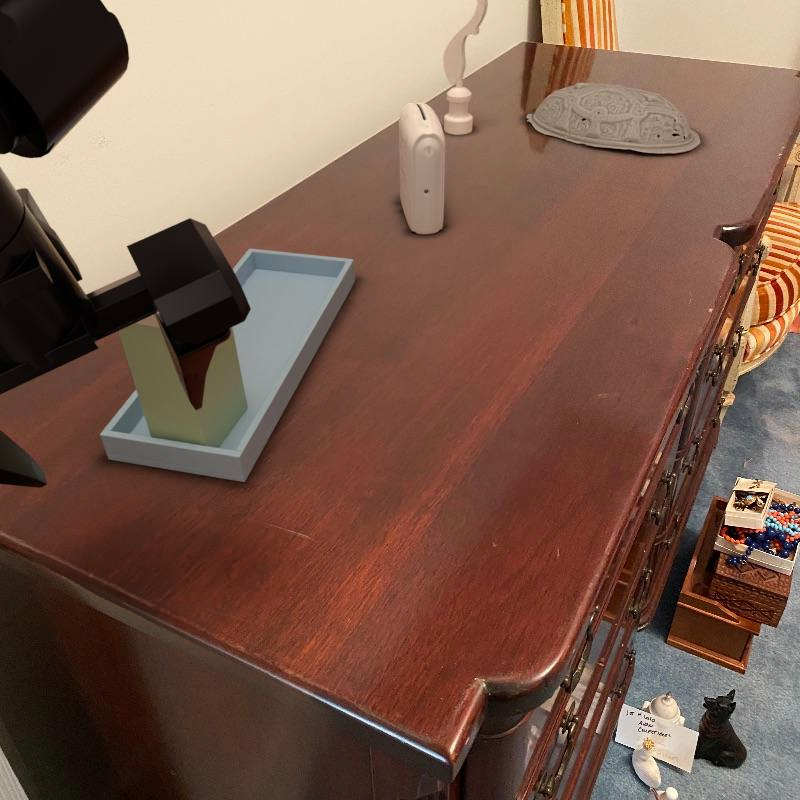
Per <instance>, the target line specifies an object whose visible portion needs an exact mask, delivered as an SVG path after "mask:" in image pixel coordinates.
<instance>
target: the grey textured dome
mask: <svg viewBox="0 0 800 800" xmlns="http://www.w3.org/2000/svg"><path fill="white" fill-rule="evenodd" d="M525 118H526V119H527V123H528V122H529V123H530V124H531V125H532V127H533V128H534V129H535V131H537V132H539V133H541V134H543V135H546V136H550V137H555V138H559V139H562V140H565V141H568V142H571V143H574V144H578V145H585V146H589V147H595V148H602V149H603V148H604V149H606V148H607V149H615V150H631V151H636V152H639V153H640V152H641V153H644V154H645V153H646V154H660V155H662V154H663V155H664V154H680V153H685V152H689V151H692V150H694V149H695V148H697V147H698V146H700V144H701V139H700V136H699V134H698V133H696V132H695V130H693V129H691V127H690V125H689V124H688V122H687V118H686V116H685V115H684V114H683V113H682V111H680V110H679V109H678V108H677V106H676V105H674V104H673V103H671V102H670V101H669V100H667V99H666V98H664V97H663V96H661V95H660V94H659V93H657V92H650V91H647V90H643V89H640V88H636V87H628V86H623V85H621V84H610V83H599V82H598V83H597V82H596V83H592V82H590V83H586V82H577V83H575V84H574V85H571V86H567V87H563V88H561V89H556V90H554V91H553V92H552V93H550V94H549V95H548V96H547V97H545V98H544V99H543V101H542V102H541V103H540V104H539V106H538V107H536V109H535V112H534V113H528V114H527V115H526V116H525ZM583 119H585V120H583ZM673 134H676V135H675V136H674V135H673Z"/></svg>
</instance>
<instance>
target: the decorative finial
mask: <svg viewBox="0 0 800 800" xmlns="http://www.w3.org/2000/svg"><path fill="white" fill-rule="evenodd" d="M476 1H477V2H476V7H475V10H474V13H473V15H472V17H471V18H470V19H469V21H468V22H467V23H466V24H465V25H464V26H463V27H462V28H461V29H459V31H458V32H457V33H456V34H455V35H454V36H453V37H452V38H451V40H449V42H448V43H447V46H446V48H445V50H444V52H443V56H442V58H443V59H442V61H443V70H444V74H445V76H446V79H447V81H448V83H449V84H450V86H451V88H450V89H449V90H448V91H447V92H446V100H447V101H448V102H449V105H448V112H446V113H445V115H444V117H443V132H445V133H446V134H449V135H455V136H460V135H467V134H470V133H471V132H472V131H473V127H474V126H473V125H474V124H473V122H474V117H473V115H472V114H471V113H470V112H469V102H471V101H472V91H470V90H469V88H468V87H465V86H464V74H465V71H466V65H467V64H466V63H467V61H466V41H467V38H468V37H469V35H473V36H477V35H478V34H479V33H480V27H481V25H482V23H483V21H484V19H485V17H486V14H487V11H488V7H489V6H488V4H489V0H476ZM454 85H455V86H454ZM452 86H453V87H452Z"/></svg>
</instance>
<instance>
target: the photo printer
mask: <svg viewBox="0 0 800 800" xmlns="http://www.w3.org/2000/svg"><path fill="white" fill-rule="evenodd" d="M398 139H399V140H398V142H399V143H398V144H399V145H398V146H399V147H398V149H399V151H398V152H399V153H398V154H399V195H400V196H399V198H400V205H401V207H402V211H403V214H404V217H405V220H406V224H407V226H408V228H409V230H410V231H411V232H414V233H415V234H418V235H433V234H436V233H438V232H439V231H440V230H442V229H443V227H444V219H445V218H444V217H445V187H446V186H445V185H446V182H445V180H446V137H445V133H444V129H443V127H442V124H441V122H440V119H439V117H438V115H437V113H436V112H435V111H434V109H433V108H432V107H431V106H430V105H428V104H427V103H426V102H423V101H419V102H409V103H407V104H406V105H405V106H404V107H403V108H402V109H401V111H400V114H399V117H398Z"/></svg>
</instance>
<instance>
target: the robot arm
mask: <svg viewBox="0 0 800 800" xmlns="http://www.w3.org/2000/svg"><path fill="white" fill-rule="evenodd" d="M129 62H130V52H129V44H128V40H127V37H126V35H125V32H124V29H123V27H122V25H121V23H120V21H119V19H118V17H117V16H116V14H114V13H113V12H111V11H110V10H108V8H107V7H106V6H105V4H104V3H103V1H102V0H0V155H7V154H9V153H10V154H12V155H15V156H18V157H21V158H27V159H38V158H43V157H45V156H47V155H49V154H50V153H51V152H52V151H53V150H54V149H55V148H56V147H57V146H58V144H59V143H60V142H62V140H63V139H64V138H65V137H66V136H68V134H69V133H70V132H71V131H72V130H73V129H74V128H75V127H76V126H77V125H78V124H79V123H80V122H81V120H82V119H83V118H85V116H87V114H88V113H89V112H90V111H91V110H92V109H93V108H95V106H97V104H98V103H100V102H99V101H101V99H103V97H105V95H107V93H109V91H111V90H112V88H114V86H115V85H116V84H117V83H118V82H119V81H120V80H121V79H122V78H123V76H124V75H125V73H126V72H127V70H128V66H129ZM4 171H5V170H3V168H2V167H1V166H0V395H3V394H4V393H7V392H9V391H11V390H14V389H15V388H17V387H19V386H22V385H24V384H26V383H28V382H31V381H33V380H34V379H37V378H39V377H41V376H43V375H45V374H47V373H49V372H52V371H54V370H56V369H58V368H60V367H62V366H64V365H67V364H69V363H71V362H73V361H75V360H77V359H79V358H82V357H84V356H86V355H88V354H90V353H92V352H94V351H97V350H99V349H100V347H99V345H98V343H97V341H100V340H102V339H104V338H106V337H109V336H111V335H113V334H115V333H117V332H118V331H119V330H121V329H124V328H126V327H128V326H130V325H132V324H134V323H136V322H139V321H141V320H143V319H145V318H147V317H149V316H151V315H154V314H155V317H156V319H157V322H158V324H159V327H160V329H161V332H162V335H163V337H164V340H165V343H166V345H167V348H168V351H169V353H170V356H171V359H172V361H173V364H174V367H175V369H176V372H177V375H178V377H179V380H180V382H181V384H182V386H183V389H184V391H185V393H186V395H187V397H188V399H189V401H190V403H191V405H192V406H193V407H194V409H195V410H198V409H200V408H202V404H203V396H204V388H205V380H206V374H207V371H208V368H209V365H210V362H211V360H212V357H213V354H214V351H215V348H216V346H217V345H219V344H221V343H223V342H225V341H226V340H227V339H228V338H229V337H230V335H231V329H230V328H231V327H233V326H235V325H238V324H240V323H242V322H244V321H245V320H246V318H247V316H248V314H249V312H250V310H251V308H250V306H249V303H248V301H247V298H246V296H245V294H244V291H243V289H242V287H241V285H240V283H239V281H238V279H237V277H236V275H235V273H234V271H233V268H232V265H231V264H230V262H229V261H228V259H227V257H226V256H225V254H224V252H223V250H222V249H221V247H220V246H219V244H218V243H217V241H216V240H215V238H214V236H213V234H212V233H211V231H210V229H209V228H208V226H207V225H206V224H205V223H203V222H201V221H198V220H195V219H193V218H191V217H189V218H187V219H185V220H182V221H180V222H178V223H176V224H173V225H171V226H169V227H166V228H165V229H162V230H160V231H158V232H155V233H153V234H150V235H149V236H147V237H144V238H142V239H140V240H138V241H134V242H133V243H130V244H128V245H127V246H126V248H127V250H128V252H129V254H130V256H131V258H132V260H133V262H134V265H135V267H136V268H137V270H136V271H135V272H133V273H130V274H129V275H125V276H124V277H122V278H119V279H117V280H115V281H112V282H110V283H108V284H105V285H104V286H102V287H98V288H97V289H95V290H92V291H90V292H88V293H86V292H85V291H84V289H83V288H82V286H81V285H80V283H79V282H81V281H83V276H82V273H81V271H80V268H79V267H78V264H77V263H76V261H75V259H74V257H72V255H71V253H70V252H69V251H68V249H67V248H66V246H65V245H64V243H63V241H62V240H61V238H60V237H59V235H58V234H57V232H56V231H55V229H53V228H52V226H51V225H50V223H49V222H48V220H47V219H46V217H45V215H44V214H43V211H42V210H41V209H40V206H39V205H38V203H37V202H36V200H35V198H34V196H32V194H31V191H30V190H29V189H28V188H26V187H23V188H18V189H16V187H15V186H14V184H13V183H12V181H11V180H10V178H9V177H8V175H7V174H6V173H5V172H4ZM0 485H4V486H5V485H6V486H15V487H26V488H37V489H41V488H43V487H45V486H47V485H48V480H47V477H46V475H45V472H44V470H43V469H42V467H41V466H40V465H39V464H38V463H37V461H36V460H35V459H34V458H33V457H32V456H31V455H30V453H28V451H26V450H25V449H24V448H22V447H21V446H20V445H19V444H18V443H17V442H15V440H13V439H12V438H11V437H10V436H9V435H7V434H6V433H5V432H4V431H2V430H1V429H0Z"/></svg>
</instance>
